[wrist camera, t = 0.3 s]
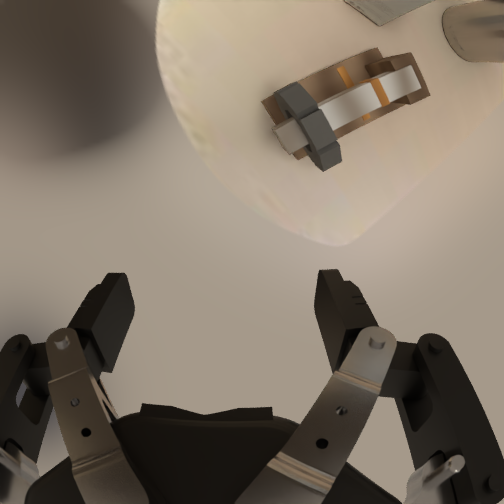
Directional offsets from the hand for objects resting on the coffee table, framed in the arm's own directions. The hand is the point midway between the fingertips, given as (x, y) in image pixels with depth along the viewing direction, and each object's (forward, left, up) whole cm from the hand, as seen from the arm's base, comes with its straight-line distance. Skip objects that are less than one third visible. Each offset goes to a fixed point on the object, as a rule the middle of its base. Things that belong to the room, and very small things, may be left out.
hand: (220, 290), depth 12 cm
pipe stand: (-15, -1, -25) cm, 29 cm away
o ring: (-9, -1, -22) cm, 24 cm away
